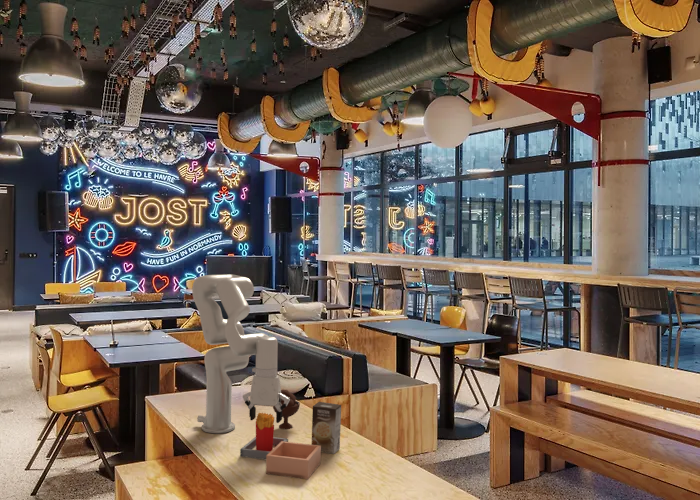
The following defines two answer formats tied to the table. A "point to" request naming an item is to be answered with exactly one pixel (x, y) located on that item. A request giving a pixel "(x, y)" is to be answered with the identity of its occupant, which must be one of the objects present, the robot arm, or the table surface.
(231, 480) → the table surface
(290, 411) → the ice cream bowl
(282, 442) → the pink open box
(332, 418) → the coffee box
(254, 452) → the gray rectangular frame
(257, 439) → the french fries
